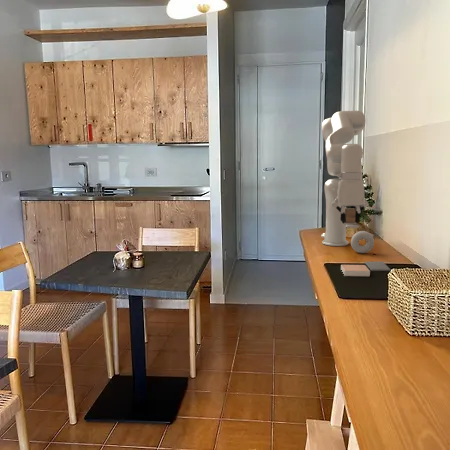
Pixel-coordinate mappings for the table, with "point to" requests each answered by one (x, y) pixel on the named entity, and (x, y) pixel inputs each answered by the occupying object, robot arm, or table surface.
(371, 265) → the mat
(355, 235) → the donut
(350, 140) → the robot arm
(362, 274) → the tile
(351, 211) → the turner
